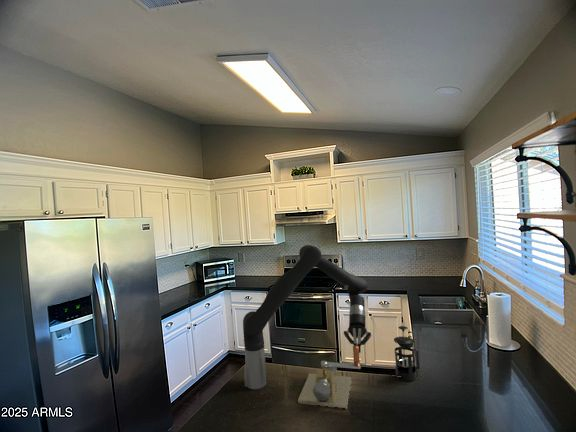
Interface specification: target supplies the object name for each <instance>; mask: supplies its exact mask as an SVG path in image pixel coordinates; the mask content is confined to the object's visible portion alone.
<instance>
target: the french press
mask: <svg viewBox="0 0 576 432" xmlns="http://www.w3.org/2000/svg"><path fill="white" fill-rule="evenodd" d="M398 329H399V330H401V331H402V336H396V337H394V338H393V341H394V342H395V343H396V344H397V345H398V347H395V348H394V355H395V356H394V358H395V359H394V360H395V377H396V376H401V377H396V378H397V379H398V380H400V381H403V382H415V381H417V378H418V376H417V370H419V369H420V360H419V359H420V358H419V350H418V349H417V348H413V347H414V343H415V340H414V339H413V338H412V337H409V336H405V330H408V329H409V328H408V326H405V325H401V326H398ZM397 351H398V352H397ZM406 351H411V354H410V353H409V354H406ZM403 353H404V354H403Z"/></svg>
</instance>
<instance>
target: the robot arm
mask: <svg viewBox="0 0 576 432" xmlns="http://www.w3.org/2000/svg"><path fill="white" fill-rule="evenodd" d="M298 254H299V255H298V256H299V260H298V261H297V262H296V263H295V265H293V267H291V268H290V269H289V270H288V271H286V272H285V273H283V274H282V275H281V276H280V277H278V279H277V280H276V282H274V283H273V285H272V286H271V287H270V289H269V290H268V292H267V294H266V296H265V298H264V299H263V302H262V303H261V305H259V307H258V308H257V309H256V310H255V311H249V312H247V313H246V314H245V315H244V317H243V320H242V329H243V332H242V333H243V345H244V358H245V359H244V360H245V361H244V362H245V365H243V373H244V374H243V377H244V387H245V388H248V389H250V390H260V389H262V388H265V386H266V385H267V370H266V369H267V367H266V353H265V340H264V332H263V331H264V329H265V327H266V326H267V324H268V323H269V321H270V320H271V318H272V317H273V316H274V314H275V313H276V312H277V311H278V310H279V308H281V307H282V305H283V304H284V303H285V301H286V300H287V299H288V298H289V297H290V296H291V295H292V294H293V292H294V291H295V289H296V288H297V287H298V286H299V285H300V283H301V282H302V281H303V279H305V277H306V276H307V274H309V272H311V271H312V270H313V269H314V268H317V269H318V270H320V271H322V272H323V273H325V274H326V275H327V276H328V277H330V278H332V279H333V280H334V281H335V282H337V283H338V284H340V285H342V286H343V287H345V286H347V288H346V289H347V294H348V297H349V317H348V319H349V320H348V328H347V330H344V331H343V336H344V337H345V338H346V340H348V341H347V342H349V344H350V345H353V346H354V345H358V346H359V354H361V346H365V345H366V343H367V342H368V341H369V340H370V338H371V337H372V333H371V332H369V331H368V330H367V327H366V325H367V324H366V319H367V318H366V309H365V308H366V305H365V304H366V303H365V302H366V301H365V298H364V296H363V295H361V294H362V293H363V294H364V292H366V291H367V290H368V287H369V286H368V283H367V281H366V280H365V279H364V278H362V277H361V276H358V275H355V274H352V273H350V272H348V271H347V270H345V269H343V268H342V267H341V266H339V265H337V264H336V263H333V262H332V261H330V260H329V259H327V258H326V257H324V256H322V252H321V249H320V248H319V247H317V246H314V245H312V244H310V245H309V244H305V245H304V246H302V247H301V248H300V250H299V252H298ZM350 336H351V337H352V338H353V339H352V338H351V337H350ZM362 338H363V339H362Z"/></svg>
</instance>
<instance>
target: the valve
mask: <svg viewBox="0 0 576 432" xmlns="http://www.w3.org/2000/svg"><path fill="white" fill-rule="evenodd" d="M336 373H337V369H336V367H329V366H327V367H320V368H317V372H316V373H308V376H307V378H306V381H304V382H305V383H304V384H303V387H302V389H301V392H300V394H299V396H298V399H297V404H301V405H310V406H317V405H320V406H319V407H325V406H328V408H334V407H338V408H337V409H342V408H345V409H344V410H348V406H349V405H348V404H349V400H350V393H349V391H350V392H351V387H350V385H351V386H352V381H351V379H352V377H350V376H344V375H343V376H342V375H336ZM348 399H349V400H348ZM347 405H348V406H347Z"/></svg>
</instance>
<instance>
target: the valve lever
mask: <svg viewBox="0 0 576 432" xmlns="http://www.w3.org/2000/svg"><path fill="white" fill-rule="evenodd" d="M352 353H353V354H352V355H353V356H352V357H353V363H346V362H345V363H344V362H332V361H327V360H321V361H320V366H321V367H327V366H329V367H335V368H342V369H344V368H345V369H355V370H356V369H358V370H361V368H362V367H361V365H362V364H360V353H359V346H358V345H353V346H352ZM321 367H320V368H321Z"/></svg>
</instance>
